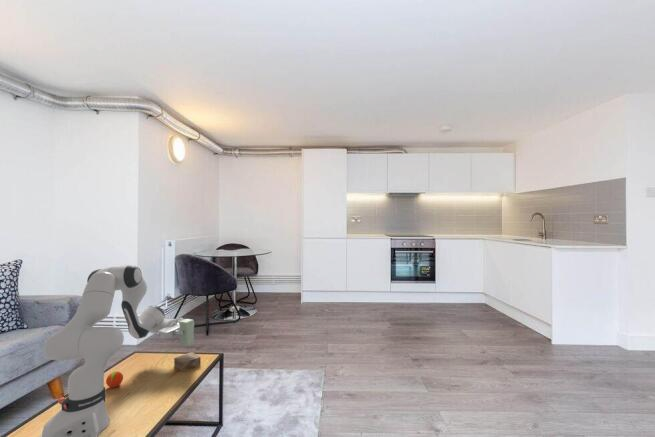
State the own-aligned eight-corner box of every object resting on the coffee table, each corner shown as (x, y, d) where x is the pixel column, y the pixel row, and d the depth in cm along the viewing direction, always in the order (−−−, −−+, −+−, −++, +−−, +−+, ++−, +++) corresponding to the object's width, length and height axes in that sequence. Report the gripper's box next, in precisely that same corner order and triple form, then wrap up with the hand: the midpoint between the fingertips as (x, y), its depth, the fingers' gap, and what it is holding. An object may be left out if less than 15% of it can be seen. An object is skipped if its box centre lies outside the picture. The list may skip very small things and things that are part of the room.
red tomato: (120, 390, 150) (119, 375, 150) (103, 392, 148) (102, 377, 148) (125, 381, 157) (124, 367, 157) (109, 384, 155) (108, 369, 155)
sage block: (187, 346, 170) (186, 322, 170) (180, 345, 172) (179, 321, 172) (194, 342, 175) (193, 319, 175) (187, 341, 177) (186, 318, 176)
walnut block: (182, 371, 166) (182, 363, 166) (174, 366, 173) (174, 358, 173) (200, 364, 174) (200, 356, 174) (192, 359, 180) (192, 351, 180)
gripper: (153, 328, 168) (172, 331, 163) (183, 316, 187) (201, 319, 182) (153, 340, 168) (172, 343, 163) (183, 327, 187) (201, 329, 182)
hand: (188, 330), depth 173 cm, fingers closed on sage block, 5 cm apart
